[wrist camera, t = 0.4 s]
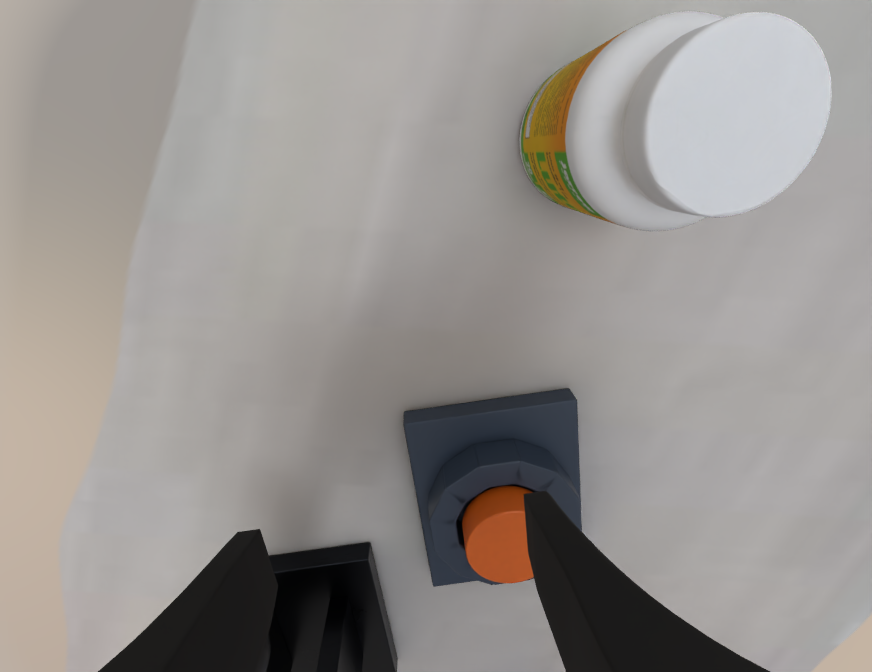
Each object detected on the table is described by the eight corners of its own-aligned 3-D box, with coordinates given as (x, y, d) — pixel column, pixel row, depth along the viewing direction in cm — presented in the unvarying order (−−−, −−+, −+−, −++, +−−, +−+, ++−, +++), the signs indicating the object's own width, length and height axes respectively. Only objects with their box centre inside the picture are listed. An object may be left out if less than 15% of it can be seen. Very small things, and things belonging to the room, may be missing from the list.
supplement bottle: (490, 163, 19) (559, 170, 10) (569, 30, 18) (731, -101, 9) (597, 231, 21) (744, 292, 11) (679, 111, 19) (924, 71, 10)
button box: (576, 548, 27) (595, 595, 24) (432, 569, 27) (434, 617, 24) (569, 387, 23) (591, 419, 20) (403, 411, 23) (402, 446, 20)
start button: (549, 547, 23) (560, 577, 21) (467, 559, 23) (471, 589, 22) (545, 478, 22) (555, 505, 20) (457, 491, 22) (460, 518, 20)
